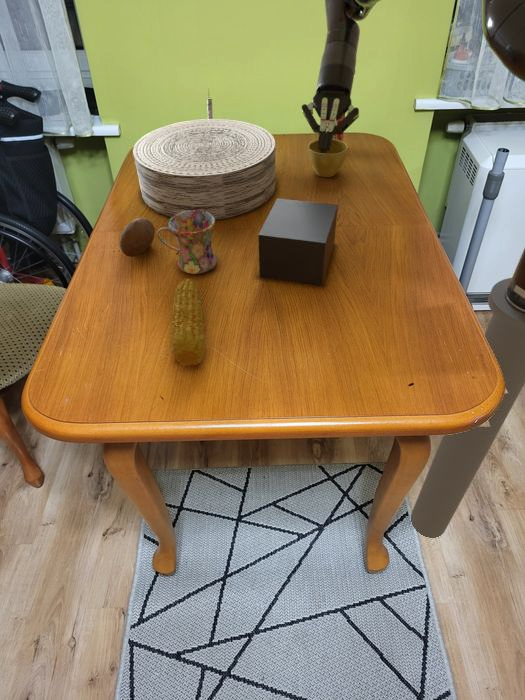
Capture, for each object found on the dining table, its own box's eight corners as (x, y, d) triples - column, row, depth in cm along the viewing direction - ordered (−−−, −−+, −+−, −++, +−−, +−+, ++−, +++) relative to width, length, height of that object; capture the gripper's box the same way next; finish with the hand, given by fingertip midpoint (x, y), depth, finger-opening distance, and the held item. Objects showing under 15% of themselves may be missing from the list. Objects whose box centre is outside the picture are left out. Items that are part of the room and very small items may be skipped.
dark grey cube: (277, 238, 106) (277, 198, 99) (334, 246, 103) (338, 204, 96) (259, 277, 96) (258, 234, 89) (322, 286, 93) (325, 243, 86)
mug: (220, 252, 102) (215, 208, 95) (218, 277, 96) (213, 232, 89) (166, 254, 102) (158, 210, 95) (161, 279, 96) (151, 234, 89)
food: (209, 369, 78) (205, 343, 74) (174, 374, 78) (168, 347, 73) (201, 291, 93) (197, 265, 89) (172, 294, 92) (166, 268, 88)
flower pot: (309, 163, 133) (310, 137, 128) (346, 166, 131) (349, 139, 126) (304, 180, 126) (305, 152, 121) (343, 182, 124) (346, 155, 119)
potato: (162, 236, 108) (157, 207, 103) (149, 266, 99) (143, 236, 94) (133, 235, 108) (126, 207, 103) (117, 265, 100) (109, 235, 95)
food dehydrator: (273, 220, 111) (273, 143, 99) (127, 220, 113) (109, 144, 101) (277, 153, 138) (276, 85, 126) (159, 153, 140) (147, 87, 128)
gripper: (304, 60, 102) (291, 141, 102) (367, 63, 99) (353, 146, 99) (308, 80, 109) (295, 156, 109) (367, 83, 106) (354, 161, 107)
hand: (323, 151), depth 104 cm, fingers closed
